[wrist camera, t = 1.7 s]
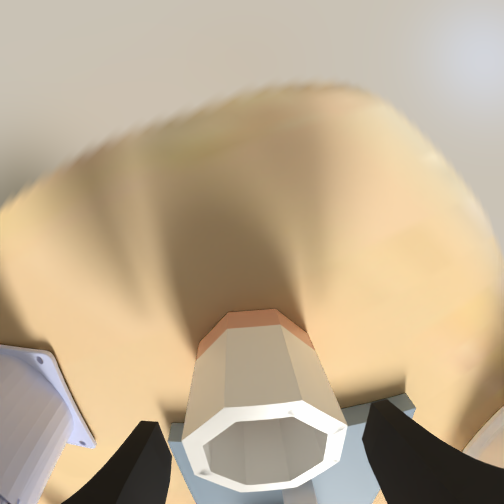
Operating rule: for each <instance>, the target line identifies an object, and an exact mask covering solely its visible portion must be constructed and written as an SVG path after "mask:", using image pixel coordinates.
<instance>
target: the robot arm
mask: <svg viewBox="0 0 504 504" xmlns="http://www.w3.org/2000/svg"><path fill="white" fill-rule="evenodd" d="M41 358H42V359H41ZM362 441H363V445H364V449H365V452H366V455H367V458H368V462H369V464H370V466H371V468H372V471H373V473H374V475H375V477H376V479H377V482H378V484H379V486H380V488H381V490H382V493H383V495H384V497H385V499H386V501H387V503H388V504H504V468H500V467H497V466H494V465H491V464H488V463H485V462H482V461H480V460H477V459H475V458H473V457H471V456H469V455H467V454H465V453H462V452H460V451H459V450H457V449H455V448H453V447H452V446H450V445H448V444H447V443H445V442H443V441H442V440H440V439H439V438H437V437H436V436H434V435H433V434H431V433H430V432H429V431H427V430H426V429H424V428H423V427H422V426H420V425H419V424H418V423H416V422H415V421H414V420H412V419H411V418H410V417H409V416H407V415H406V414H405V413H404V412H402V411H401V410H400V409H399V408H397V407H396V406H395V405H394V404H392V403H391V402H390V401H389V400H387V399H384V400H381V401H376V402H372V403H371V405H370V409H369V414H368V418H367V421H366V425H365V429H364V433H363V436H362ZM66 443H69V444H73V445H77V446H82V447H87V448H95V447H96V444H97V443H96V441H95V439H94V438H93V436H92V434H91V432H90V431H89V429H88V427H87V425H86V423H85V422H84V420H83V418H82V416H81V414H80V412H79V410H78V408H77V406H76V404H75V402H74V400H73V398H72V396H71V394H70V392H69V390H68V387H67V385H66V383H65V381H64V379H63V376H62V374H61V372H60V369H59V367H58V364H57V362H56V359H55V357H54V355H53V354H52V353H51V352H49V351H46V350H38V349H30V348H22V347H15V346H8V345H1V344H0V504H37V503H38V501H39V499H40V497H41V494H42V492H43V490H44V488H45V486H46V484H47V482H48V479H49V477H50V475H51V473H52V471H53V469H54V467H55V465H56V463H57V461H58V459H59V457H60V455H61V453H62V451H63V449H64V447H65V445H66ZM171 461H172V455H171V453H170V451H169V448H168V446H167V444H166V441H165V439H164V436H163V434H162V431H161V429H160V426H159V423H158V422H152V421H141V422H140V423H139V424H138V425H137V426H136V428H135V429H134V430H133V431H132V433H131V434H130V435H129V436H128V438H127V439H126V440H125V442H124V443H123V444H122V445H121V446H120V448H119V449H118V450H117V451H116V452H115V454H114V455H113V456H112V457H111V458H110V459H109V461H108V462H107V463H106V464H105V465H104V466H103V467H102V468H101V469H100V470H99V471H98V472H97V473H96V474H95V475H94V476H93V478H92V479H91V480H90V481H88V482H87V483H86V484H85V485H84V486H83V487H82V488H81V489H80V490H78V491H77V492H76V493H75V494H73V495H72V496H71V497H70V498H68V499H67V500H66V501H64V502H63V503H61V504H165V502H166V497H167V493H168V488H169V483H170V475H171Z"/></svg>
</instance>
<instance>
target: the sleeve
mask: <svg viewBox="0 0 504 504" xmlns="http://www.w3.org/2000/svg"><path fill="white" fill-rule="evenodd" d="M347 426H348V425H347V422H346V420H345V418H344V415H343V413H342V411H341V408H340V406H339V404H338V401H337V399H336V397H335V394H334V392H333V390H332V388H331V385H330V383H329V381H328V378H327V376H326V374H325V371H324V369H323V367H322V365H321V362H320V360H319V358H318V356H317V353H316V351H315V349H314V347H313V344H312V342H311V340H310V337H309V335H308V333H306V332H305V331H304V330H302V329H301V328H300V327H298V326H297V325H296V324H295V323H293V322H292V321H291V320H289V319H288V318H287V317H286V316H284V315H283V314H282V313H280V312H279V311H278V310H277V309H264V310H252V311H239V312H228V313H227V314H226V315H225V316H224V317H223V318H222V319H221V320H220V321H219V322H218V323H217V324H216V326H215V327H214V328H213V329H212V330H211V331H210V332H209V333H208V334H207V335H206V336H205V337H204V338H203V339H202V340H201V341H200V342H199V346H198V352H197V357H196V362H195V367H194V372H193V378H192V383H191V388H190V394H189V399H188V405H187V411H186V416H185V422H184V428H183V434H182V440H181V441H182V443H183V446H184V449H185V452H186V454H187V457H188V459H189V462H190V465H191V467H192V470H193V472H194V475H196V476H198V477H201V478H203V479H206V480H208V481H211V482H213V483H216V484H219V485H221V486H224V487H227V488H229V489H232V490H235V491H238V492H257V491H269V490H278V489H287V488H294V487H298V486H299V485H301V484H303V483H305V482H307V481H308V480H310V479H312V478H313V477H315V476H317V475H318V474H320V473H322V472H323V471H325V470H327V469H328V468H330V467H331V466H333V465H334V464H336V463H337V462H339V460H340V456H341V452H342V448H343V444H344V439H345V435H346V430H347Z"/></svg>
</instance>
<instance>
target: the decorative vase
mask: <svg viewBox="0 0 504 504" xmlns="http://www.w3.org/2000/svg"><path fill="white" fill-rule="evenodd" d="M462 453H465V454H467V455H469V456H471V457H473V458H475V459H477V460H480V461H482V462H485V463H488V464H491V465H494V466H497V467H500V468H504V406H503V407H501V408H500V409H499V410H498V411H497V412H496V413H495V414H494V415H493V416H492V417H491V418H490V419H489V421H488V422H487V423H486V424H485V425H484V426H483V427H482V428H481V429H480V430H479V431H478V432H477V434H476V435H475V436H474V437H473V438H472V440H471V441H470V442H469V443H468V444H467V446H466V447H465V448H464V450H463V451H462Z"/></svg>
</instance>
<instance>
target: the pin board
mask: <svg viewBox="0 0 504 504" xmlns="http://www.w3.org/2000/svg"><path fill="white" fill-rule="evenodd" d="M386 399H387V400H389V401H390V402H391V403H392V404H394V405H395V406H396V407H397V408H399V409H400V410H401V411H402V412H404V413H405V414H406V415H407V416H409V417H410V418H411V419H412V417H413V415H414V412H415V409H416V407H415V406H414V404H413V403H412V401H411V400H410V399H409V397H408V396H407V394H406V393H404V394H401V395H397V396H394V397H390V398H386ZM382 400H384V399H382ZM379 401H381V400H379ZM375 402H376V401H375ZM371 403H372V402H370V403H366V404H362V405H357V406H353V407H348V408H343V409H341V411H342V413H343V415H344V418H345V420H346V422H347V425H348V426H347V430H346V435H345V439H344V444H343V448H342V452H341V456H340V460H339V462H337V463H336V464H334V465H333V466H331V467H330V468H328V469H327V470H325V471H323V472H322V473H320V474H318V475H317V476H315V477H313V478H312V479H310V480H308V481H307V482H305V483H303V484H301V485H299V486H298V487H294V488H287V489H278V490H269V491H257V492H238V491H235V490H232V489H229V488H227V487H224V486H221V485H219V484H216V483H213V482H211V481H208V480H206V479H203V478H201V477H198V476H196V475H194V472H193V470H192V467H191V465H190V462H189V459H188V457H187V454H186V452H185V449H184V446H183V443H182V441H181V440H182V434H183V428H184V423H172V424H171V429H170V434H169V438H168V443H169V445H170V448H171V450H172V453H173V455H174V457H175V460H176V462H177V464H178V466H179V469H180V471H181V473H182V475H183V477H184V480H185V482H186V484H187V486H188V488H189V490H190V492H191V494H192V496H193V498H194V500H195V502H196V504H372V503H373V501H374V499H375V497H376V496H377V494H378V492H379V490H380V486H379V484H378V482H377V479H376V477H375V475H374V473H373V471H372V468H371V466H370V464H369V462H368V458H367V455H366V452H365V449H364V445H363V441H362V436H363V433H364V429H365V425H366V421H367V418H368V414H369V409H370V405H371Z"/></svg>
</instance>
